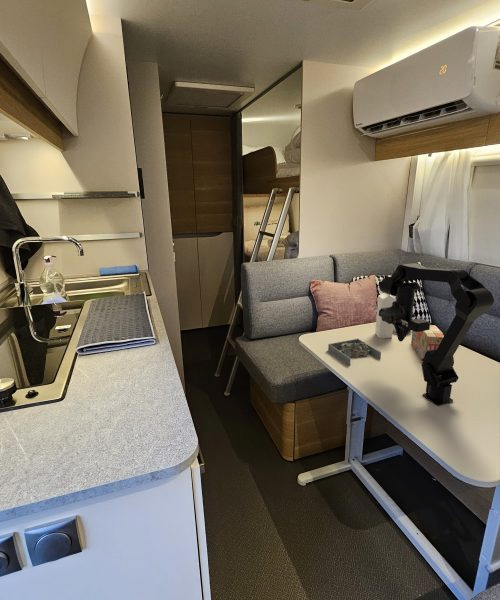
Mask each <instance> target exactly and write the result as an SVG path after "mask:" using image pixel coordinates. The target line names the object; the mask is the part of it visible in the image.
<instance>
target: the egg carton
mask: <svg viewBox="0 0 500 600" xmlns="http://www.w3.org/2000/svg"><path fill="white" fill-rule="evenodd" d="M365 343H366V342H365V341H363V342H362V343H357V344H356V343H343V344H342V345H341V346H342V349H341V352H342V353H344V354H345V355H346V356H348V357H349V358H352V356H355V357H359V356H364V357H367V356H368V354H370V353H369V351H370V350H369V347H368V346H367V345H366V344H367V343H366V344H365Z"/></svg>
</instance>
